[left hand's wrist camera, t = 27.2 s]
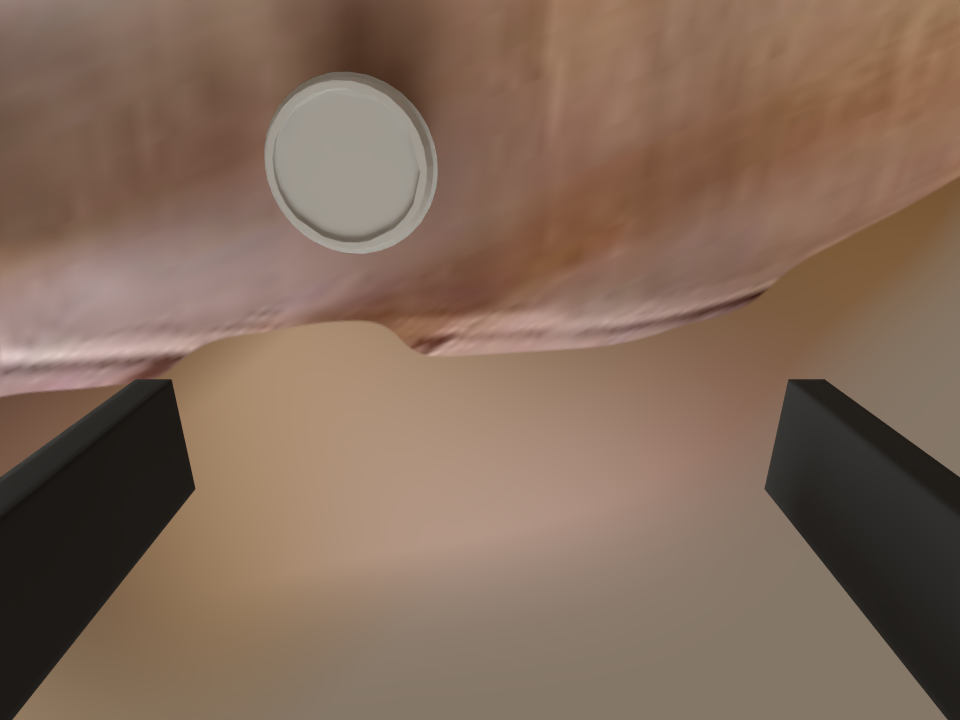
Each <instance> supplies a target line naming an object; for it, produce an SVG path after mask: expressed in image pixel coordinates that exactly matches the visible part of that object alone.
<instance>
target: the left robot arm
mask: <svg viewBox="0 0 960 720" xmlns="http://www.w3.org/2000/svg"><path fill="white" fill-rule="evenodd" d="M194 490H195V485H194V480H193V476H192V471H191V466H190V462H189V457H188V453H187V448H186V444H185V439H184V435H183V430H182V425H181V421H180V416H179V411H178V407H177V402H176V398H175V393H174V389H173V384H172V380H171V379H135V380H134V381H133V382H131V383H130V384H129V385H127V386H126V387H124V388H123V389H122V390H120V391H119V392H118V393H116V394H115V395H113V396H112V397H111V398H109V399H108V400H107V401H105V402H104V403H102V404H101V405H100V406H98V407H97V408H95V409H94V410H93V411H91V412H90V413H89V414H87V415H86V416H84V417H83V418H82V419H80V420H79V421H77V422H76V423H75V424H73V425H72V426H70V427H69V428H68V429H66V430H65V431H64V432H62V433H61V434H59V435H58V436H57V437H55V438H54V439H53V440H51V441H50V442H48V443H47V444H46V445H44V446H43V447H41V448H40V449H39V450H37V451H36V452H35V453H33V454H32V455H30V456H29V457H28V458H26V459H25V460H23V461H22V462H21V463H19V464H18V465H17V466H15V467H14V468H12V469H11V470H10V471H8V472H7V473H6V474H4V475H3V476H1V477H0V720H12V719H13V718H14V717H15V716H16V714H17V713H18V712H19V711H20V709H21V708H22V707H23V706H24V704H25V703H26V702H27V701H28V699H29V698H30V697H31V696H32V694H33V693H34V692H35V690H36V689H37V688H38V687H39V685H40V684H41V683H42V682H43V680H44V679H45V678H46V677H47V675H48V674H49V673H50V672H51V670H52V669H53V668H54V666H55V665H56V664H57V663H58V661H59V660H60V659H61V658H62V656H63V655H64V654H65V653H66V651H67V650H68V649H69V648H70V646H71V645H72V644H73V643H74V641H75V640H76V639H77V637H78V636H79V635H80V634H81V632H82V631H83V630H84V629H85V627H86V626H87V625H88V624H89V622H90V621H91V620H92V619H93V617H94V616H95V615H96V614H97V612H98V611H99V610H100V609H101V607H102V606H103V605H104V603H105V602H106V601H107V600H108V598H109V597H110V596H111V595H112V593H113V592H114V591H115V590H116V588H117V587H118V586H119V585H120V583H121V582H122V581H123V580H124V578H125V577H126V576H127V575H128V573H129V572H130V571H131V569H132V568H133V567H134V566H135V564H136V563H137V562H138V561H139V559H140V558H141V557H142V556H143V554H144V553H145V552H146V551H147V549H148V548H149V547H150V546H151V544H152V543H153V542H154V540H155V539H156V538H157V537H158V535H159V534H160V533H161V532H162V530H163V529H164V528H165V527H166V525H167V524H168V523H169V522H170V520H171V519H172V518H173V517H174V515H175V514H176V513H177V511H178V510H179V509H180V508H181V506H182V505H183V504H184V503H185V501H186V500H187V499H188V498H189V496H190V495H191V494H192V493H193V491H194ZM765 490H766V491H767V493H768V494H769V495H770V496H771V498H772V499H773V500H774V501H775V503H776V504H777V505H778V506H779V508H780V509H781V510H782V511H783V513H784V514H785V515H786V517H787V518H788V519H789V520H790V522H791V523H792V524H793V525H794V527H795V528H796V529H797V530H798V532H799V533H800V534H801V535H802V537H803V538H804V539H805V540H806V542H807V543H808V544H809V546H810V547H811V548H812V549H813V551H814V552H815V553H816V554H817V556H818V557H819V558H820V559H821V561H822V562H823V563H824V564H825V566H826V567H827V568H828V569H829V571H830V572H831V573H832V574H833V576H834V577H835V578H836V580H837V581H838V582H839V583H840V585H841V586H842V587H843V588H844V590H845V591H846V592H847V593H848V595H849V596H850V597H851V598H852V600H853V601H854V602H855V603H856V605H857V606H858V607H859V608H860V610H861V611H862V612H863V614H864V615H865V616H866V617H867V619H868V620H869V621H870V622H871V624H872V625H873V626H874V627H875V629H876V630H877V631H878V632H879V634H880V635H881V636H882V638H883V639H884V640H885V641H886V643H887V644H888V645H889V646H890V648H891V649H892V650H893V651H894V653H895V654H896V655H897V656H898V658H899V659H900V660H901V661H902V663H903V664H904V665H905V667H906V668H907V669H908V670H909V672H910V673H911V674H912V675H913V677H914V678H915V679H916V680H917V682H918V683H919V684H920V685H921V687H922V688H923V689H924V690H925V692H926V693H927V694H928V695H929V697H930V698H931V699H932V701H933V702H934V703H935V704H936V706H937V707H938V708H939V709H940V711H941V712H942V713H943V714H944V716H945V717H946V718H947V719H948V720H960V477H959V476H957V475H956V474H954V473H953V472H952V471H950V470H949V469H948V468H946V467H945V466H943V465H942V464H941V463H939V462H938V461H937V460H935V459H934V458H932V457H931V456H930V455H928V454H927V453H925V452H924V451H923V450H921V449H920V448H919V447H917V446H916V445H914V444H913V443H912V442H910V441H909V440H907V439H906V438H905V437H903V436H902V435H901V434H899V433H898V432H896V431H895V430H894V429H892V428H891V427H890V426H888V425H887V424H885V423H884V422H883V421H881V420H880V419H878V418H877V417H876V416H874V415H873V414H872V413H870V412H869V411H867V410H866V409H865V408H863V407H862V406H860V405H859V404H858V403H856V402H855V401H854V400H852V399H851V398H849V397H848V396H847V395H845V394H844V393H843V392H841V391H840V390H838V389H837V388H836V387H834V386H833V385H831V384H830V383H829V382H827V381H826V380H825V379H789V380H788V384H787V388H786V393H785V398H784V402H783V407H782V412H781V416H780V421H779V425H778V430H777V434H776V439H775V443H774V448H773V453H772V457H771V462H770V466H769V471H768V476H767V480H766V485H765Z"/></svg>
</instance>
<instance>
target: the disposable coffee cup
mask: <svg viewBox="0 0 960 720" xmlns="http://www.w3.org/2000/svg"><path fill="white" fill-rule="evenodd" d="M264 159H265V169H266V174H267V179H268V183H269V186H270V188H271V191H272V194H273V196H274V198H275V200H276V202H277V204H278V206H279V207H280V209H281V211H282V212H283V213H284V214H285V216H286V217H287V218H288V220H289V221H290V222H291V223H292V224H293V225H294V226H295V227H296V228H297V229H298V230H299V231H300V232H301V233H302V234H304V235H305V236H307V237H308V238H310V239H311V240H313V241H314V242H316V243H318V244H320V245H322V246H325V247H327V248H329V249H333V250H337V251H340V252H344V253H361V254H365V253H370V252H376V251H380V250H383V249H386V248H388V247H391V246H393V245H395V244H397V243H398V242H400V241H401V240H403V239H404V238H406V237H407V236H409V235H410V234H411V233H412V232H413V231H414V229H415V228H416V227H417V226H418V225H419V224H420V223H421V222H422V220H423V218H424V217H425V215H426V213H427V211H428V210H429V208H430V206H431V203H432V200H433V197H434V194H435V191H436V185H437V178H438V167H437V155H436V150H435V146H434V142H433V139H432V136H431V134H430V131H429V128H428V126H427V124H426V123H425V121H424V119H423V117H422V116H421V114H420V113H419V112H418V110H417V109H416V107H415V106H414V105H413V104H412V103H411V102H410V101H409V100H408V99H407V98H406V97H405V96H404V95H403V94H402V93H401V92H400V91H398V90H397V89H395V88H394V87H392V86H391V85H389V84H388V83H386V82H384V81H381V80H379V79H377V78H375V77H372V76H370V75H366V74H360V73H354V72H349V71H348V72H331V73H327V74H323V75H320V76H316V77H314V78H312V79H310V80H308V81H306V82H304V83H302V84H300V85H299V86H298V87H297V88H295V89H294V90H293V91H292V92H291V93H290V94H288V95H287V96H286V98H285V99H284V100H283V101H282V103H281V104H280V105H279V107H278V108H277V110H276V112H275V114H274V116H273V118H272V119H271V122H270V125H269V128H268V131H267V136H266V141H265V158H264Z"/></svg>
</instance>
